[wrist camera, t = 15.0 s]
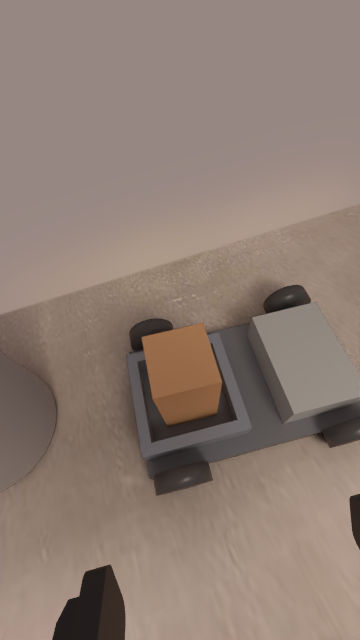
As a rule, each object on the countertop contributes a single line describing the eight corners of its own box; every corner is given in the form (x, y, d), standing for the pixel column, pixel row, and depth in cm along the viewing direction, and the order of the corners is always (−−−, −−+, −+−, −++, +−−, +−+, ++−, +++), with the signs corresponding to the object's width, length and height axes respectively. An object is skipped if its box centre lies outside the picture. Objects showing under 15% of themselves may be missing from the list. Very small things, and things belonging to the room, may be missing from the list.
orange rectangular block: (203, 369, 32) (203, 322, 23) (216, 414, 29) (222, 381, 20) (158, 380, 31) (141, 337, 23) (167, 427, 29) (152, 399, 20)
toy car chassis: (301, 304, 37) (316, 276, 32) (374, 435, 28) (408, 424, 24) (130, 346, 35) (118, 324, 31) (155, 496, 27) (145, 497, 22)
